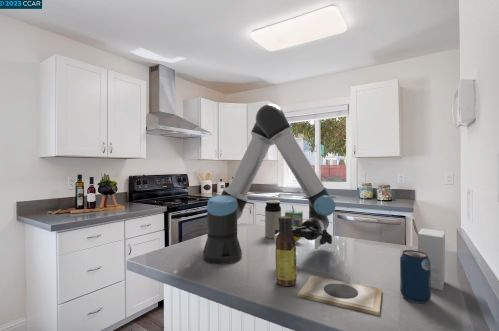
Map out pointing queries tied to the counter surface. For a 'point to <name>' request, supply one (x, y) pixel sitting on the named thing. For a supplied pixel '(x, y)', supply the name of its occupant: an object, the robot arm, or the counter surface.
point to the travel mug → (272, 217)
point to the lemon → (298, 234)
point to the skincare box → (434, 254)
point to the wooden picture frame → (343, 294)
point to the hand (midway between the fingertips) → (295, 241)
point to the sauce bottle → (285, 253)
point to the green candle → (295, 217)
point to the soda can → (415, 276)
